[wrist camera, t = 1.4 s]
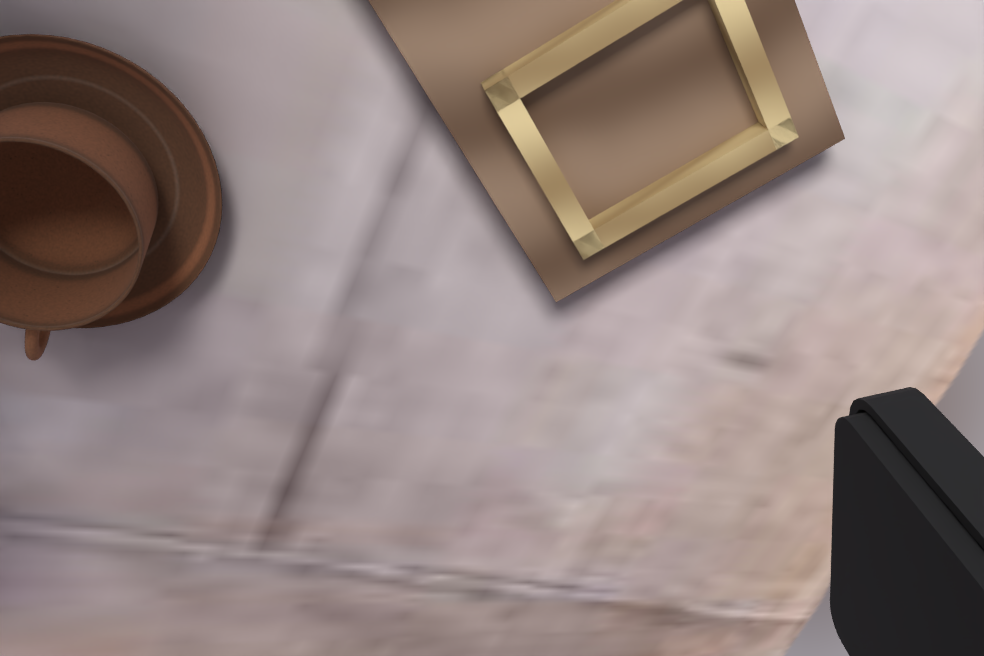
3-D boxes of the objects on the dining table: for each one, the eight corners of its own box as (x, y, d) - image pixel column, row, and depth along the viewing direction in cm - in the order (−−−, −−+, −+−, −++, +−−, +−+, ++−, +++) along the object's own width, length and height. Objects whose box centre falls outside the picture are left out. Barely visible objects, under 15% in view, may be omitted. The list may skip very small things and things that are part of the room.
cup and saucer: (250, 288, 42) (240, 363, 36) (-33, 321, 40) (-87, 403, 35) (191, 8, 36) (168, 49, 30) (-145, 38, 34) (-231, 86, 29)
